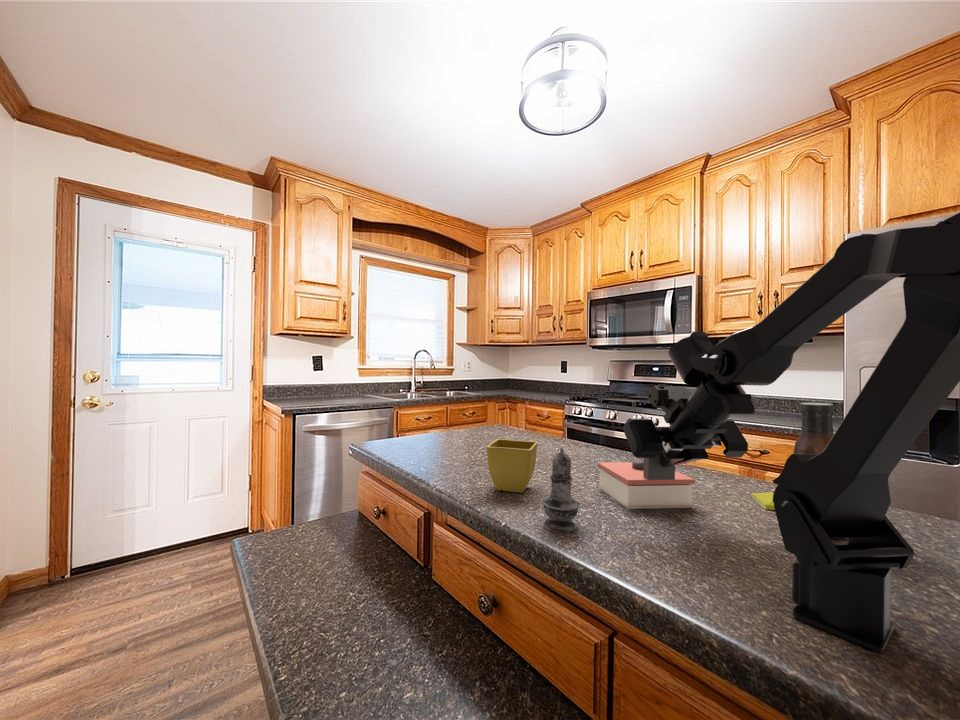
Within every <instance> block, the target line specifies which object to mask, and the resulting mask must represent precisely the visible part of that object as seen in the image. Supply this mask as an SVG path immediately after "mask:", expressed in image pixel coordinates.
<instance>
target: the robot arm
mask: <svg viewBox="0 0 960 720" xmlns="http://www.w3.org/2000/svg"><path fill="white" fill-rule="evenodd" d="M897 278H900V279H901V278H902V279H904V280H903V284H902V288H903V298H904V307H905V308H904V310H905V319H904V321H903V323H902V325H901V327H900V329H899V330H898V332H897V333H896V335H895V336H894V338H893V339H892V341H891V343H890V344H889V346H888V348H886V351H885V352H884V354H883V355H882V357H881V359H880V360H879V361H878V364H877V365H876V366H875V368H874V370H873V371H872V373H871V374H870V376H869V378H868V379H867V380H866V382H865V384H864V386H863V387H862V389H861V390H860V392H859V393H858V395H857V397H856V398H855V400H854V402H853V403H852V405H851V407H850V408H849V410H848V411H847V413H846V414H845V416H844V418H843V420H842V421H841V423H840V424H839V426H838V427H837V429H836V430H835V432H834V433H833V434H834V435H833V437H832V438H831V440H830V442H829V443H828V445H827V446H826V448H825V449H824V450H823V451H822V452H821V453H819V454H793V453H792V454H791V455H790V456H789V457H787V459H786V460H785V462H784V466H783V469H782V471H781V473H780V474H779V475H778V476H777V477H775V478H774V479H772V483H773V484H776V487H775V488H774V491H773V492H772V493H773V502H774V508H775V511H774V512H775V516H776V519H777V523H778V528H779V530H780V531H779V532H780V535H781V538H782V542H783V543H782V544H783V547H784V549H785V551H786V552H789V554H792V555H794V557H796V560H795V561H794V562H793V564H792V581H791V582H792V583H791V584H792V585H791V586H792V587H791V588H792V589H791V591H792V594H791V595H792V596H791V600H792V602H793V604H796V606H795V607H794V608H793V609H792V616H793V617H794V618H796V619H798V620H800V621H803V622H806V623H808V624H810V625H812V626H815V627H817V628H819V629H822V630H824V631H826V632H829V633H831V634H835V635H836V636H839V637H841V638H843V639H846V640H848V641H850V642H853V643H855V644H858V645H860V646H862V647H865V648H867V649H870V650H872V651H873V652H874V651H875V652H878V653H883V652H884V651H885V649H886V646H887V644H888V642H889V640H890V638H891V636H892V635H893V632H894V631H895V622H894V621H892V620H891V575H892V574H891V569H900V570H907V569H908V567H909V565H910V563H911V561H912V559H913V558H914V555H915V551H914V548H913V547H912V546H911V545H910V544H909V543H908V541H907V540H906V539H905V537H903V535H902V534H901V533H900V532H899V531H898V529H897V528H896V527H895V526H894V524H893V523H892V522H891V521H890V519H889V518H888V517H887V516H886V514H887V512H888V510H889V507H890V506H891V502H892V500H891V499H892V498H891V491H890V490H891V489H890V486H889V485H890V484H889V478H890V475H891V473H892V472H893V471H894V469H895V468H896V467H897V465H898V464H899V463H900V461H901V460H902V458H904V456H905V455H906V453H907V452H908V451H909V449H911V447H912V446H913V444H914V443H915V442H916V440H917V439H918V437H919V436H920V435H921V434H922V432H923V431H924V430H925V428H926V427H927V426H928V424H929V423H930V422H931V420H932V419H933V418H934V416H935V415H936V414H937V412H938V411H939V409H940V408H941V406H943V404H944V403H945V402H946V400H947V399H948V398H949V396H950V395H951V394H952V392H953V391H954V390H955V388H956V387H957V386H958V384H959V383H960V212H958V213H956V214H953V215H952V216H949V217H948V218H946V219H944V220H940V221H938V222H936V223H935V224H933V225H927V226H916V227H908V228H897V229H893V230H888V231H885V232H880V233H860V234H857V235H855V236H851V237H848V238H846V240H844V241H842V242H841V243H840V245H838V246H837V248H836V249H835V252H834V255H833V256H832V257H831V258H830V259H829V260H828V261H826V263H825V264H823V266H821V267H820V268H819V269H818V270H817V271H816V272H815V273H813V274H812V275H811V276H810V277H809V278H807V279H806V281H805V282H803V283H802V284H801V285H800V286H799V287H798V288H796V290H794V291H793V292H792V293H791V294H790V295H788V296H787V297H786V298H785V299H784V300H783V301H782V302H781V303H780V304H779V305H777V306H776V307H775V308H774V309H773V310H772V311H770V312H769V314H768V315H766V316H765V317H764V318H763V319H762V320H760V321H759V322H758V323H756V324H755V325H753V326H750V327H748V328H746V329H743V330H739V331H737V332H733V333H732V334H730V335H729V336H727V337H725V339H722V340H721V341H719V342H718V343H716V344H715V345H713V344H712V342H711V340H710V337H709V336H708V335H707V333H706V332H705V331H691V334H690V336H687V337H684V338H681V339H679V340H678V341H677V342H675V343H674V344H672V345H671V346H670V347H669V349H668V357H669V359H670V360H671V362H672V364H673V366H674V367H675V370H677V373H678V374H679V376H680V378H681V379H682V381H683V383H684V384H686V385H687V386H692V387H693V386H694V387H696V388H695V389H694V391H693V392H691V391H690V390H689V389H687V387H684V386H681V385H679V386H678V385H677V386H675V385H654V386H652V388H651V389H650V391H649V393H648V396H647V399H648V402H649V403H650V404H651V405H652V406H653V408H660V409H661V410H662V411H663V412H664V413H665V414H664V416H663V419H664V421H665V423H666V424H669V426H655V425H656V424H655V423H654V420H653V419H651V418H627V419H626V422H625V423H624V425H623V426H622V430H623V433H624V435H625V438H626V441H627V443H628V446H629V449H630V451H631V453H632V455H633V456H634V457H636V458H637V459H639V458H640V459H644V458H654V457H656V456H659V455H660V454H661V455H660V464H661V466H662V467H670V466H675V467H676V466H678V465H682V464H687V463H691V462H696V461H703V460H707V459H708V458H709V454H708V452H707V450H709V449H710V450H711V449H712V448H713V447H721V446H722V445H723V447H725V448H724V450H723V451H722V453H723V454H724V456H725V457H726V458H731V459H732V458H742V457H743V456H744V455H746V454H747V452H749V443H748V441H747V440H746V438H745V436H744V435H743V433H742V431H741V430H740V428H739V427H738V426H737V424H736V423H735V420H732V419H730V418H731V416H732V415H754V414H755V412H756V411H755V409H756V408H755V405H754V403H753V400H752V398H753V397H752V394H750V393H747V392H746V391H745V390H744V387H742V386H760V387H761V386H769V385H771V384H773V383H775V382H776V381H777V380H778V379H779V378H780V376H782V375H783V374H784V373H785V372H786V371H787V370H788V369H789V368H790V366H791V365H792V362H793V358H794V354H795V352H797V351H798V350H799V349H800V348H801V347H802V346H803V345H805V344H806V343H808V342H809V341H810V340H811V339H813V338H814V337H816V335H818V334H819V333H821V332H822V331H823V330H825V329H826V328H828V327H829V326H831V325H832V324H833V323H834V322H836V321H837V320H839V319H840V318H841V317H843V316H844V315H845V314H847V313H848V312H849V311H851V310H852V309H853V308H855V307H856V306H857V305H860V303H861V302H864V300H866V299H867V298H869V297H870V296H871V295H873V294H874V293H875V292H877V291H878V290H879V289H881V288H883V286H885V285H886V284H888V283H889V282H890V281H892V280H894V279H897ZM846 538H847V539H848V541H833V540H832V539H846Z"/></svg>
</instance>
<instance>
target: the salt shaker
mask: <svg viewBox="0 0 960 720" xmlns="http://www.w3.org/2000/svg"><path fill="white" fill-rule="evenodd" d="M564 451H565V450H564V449H563V447H561V448H560V449H559V452H558V453H557V454H554V455H553V457H552V468H551V469H552V474H551V475H549V478H550V480H551V489H550V490H551V491H550V494H549V496H546V497H544V498H543V499H541V504H542V506H543V509H544V514H545V515H546V516H547V517H548V518H547V519H545V520H544V521H542V522H543V523H542V525H543V527H544V528H545V529H546V530H548V531H551V532H555V533H562V534H564V533H565V534H569V533H573V532H576V531H577V530H578V528H579V526H578V525H577V523H576V522H575V521H573V520H574V519H575V518H576V516H577V515H578V512H579V508H580V507H581V502H580V501H578V500H576V499H575V498H573V494H572V487H571V486H572V481H574V478H573V477H572V476H571V471H572V470H571V468H572V466H571V465H572V459H571V457H570V456H569V455H568V454H566V453H565V452H564Z"/></svg>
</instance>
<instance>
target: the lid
mask: <svg viewBox="0 0 960 720" xmlns="http://www.w3.org/2000/svg"><path fill="white" fill-rule="evenodd" d="M660 455H661V454H660ZM660 455H659V456H656V457H654V458H643V461H641V460H632V461H631V462H627V461H625V462H622V461H620V462H619V461H617V462H615V461H614V462H612V461H609V462H607V461H606V462H604V461H603V462H597V467H598V468H599V469H600V468H601V469H603V470H604V471H606V472H608V473H609V474H611V475H612V476H614V477H616V478H617V479H619V480H621V481H622V482H624V483H626V484H627V485H647V484H691V485H695V484H696V483H695V478H693V477H690V476H688V475H686V474H683V473H682V472H679V471H676V465H675V466H670V467H662V466H661V464H660Z"/></svg>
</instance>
